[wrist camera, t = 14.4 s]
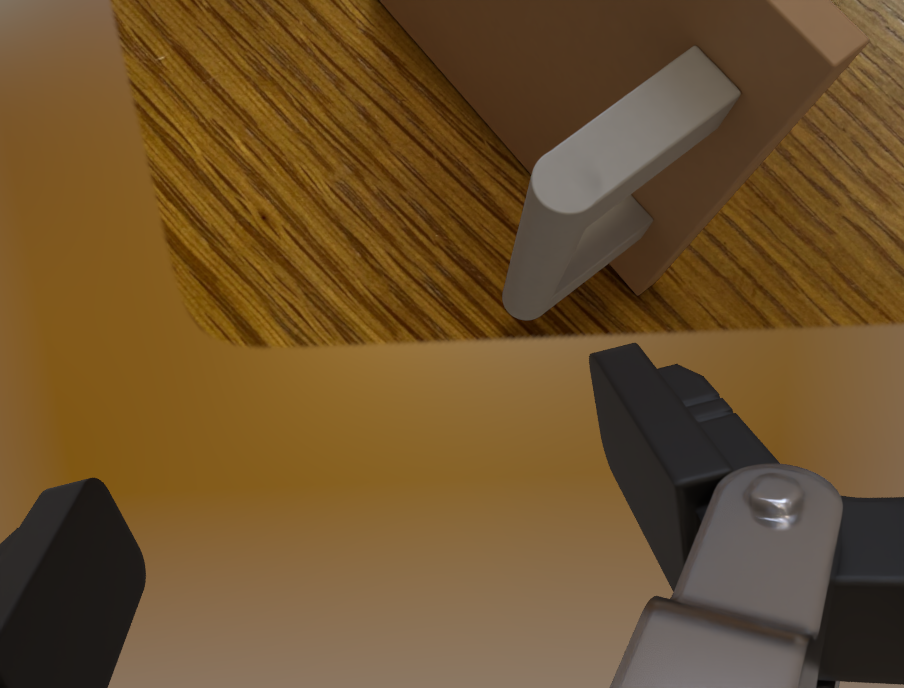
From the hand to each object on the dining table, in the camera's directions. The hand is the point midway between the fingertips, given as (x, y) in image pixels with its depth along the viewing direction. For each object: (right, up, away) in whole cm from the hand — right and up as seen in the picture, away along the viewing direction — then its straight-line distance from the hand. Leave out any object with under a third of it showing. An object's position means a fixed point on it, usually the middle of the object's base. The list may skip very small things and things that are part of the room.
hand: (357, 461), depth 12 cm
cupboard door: (+2, +9, +18) cm, 21 cm away
